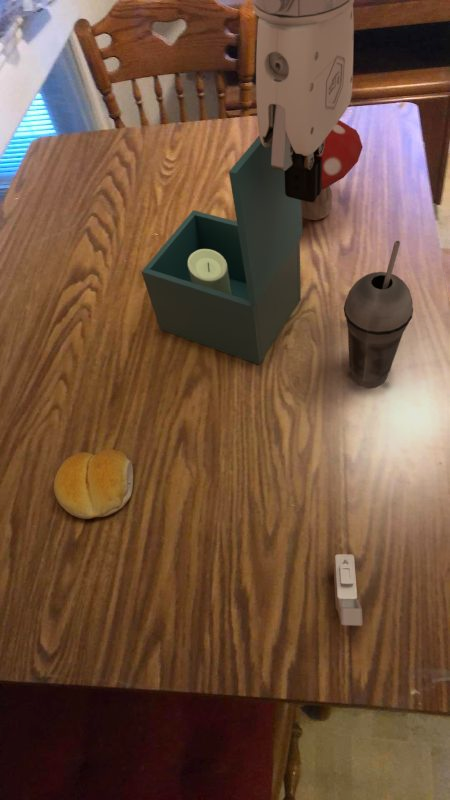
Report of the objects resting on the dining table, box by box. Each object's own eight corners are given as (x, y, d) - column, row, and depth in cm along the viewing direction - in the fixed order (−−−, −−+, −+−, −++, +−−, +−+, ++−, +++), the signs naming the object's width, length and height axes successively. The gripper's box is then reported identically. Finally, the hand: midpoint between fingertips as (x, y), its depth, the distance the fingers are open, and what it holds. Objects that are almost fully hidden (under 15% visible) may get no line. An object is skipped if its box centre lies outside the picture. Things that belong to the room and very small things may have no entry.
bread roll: (63, 460, 68) (51, 444, 65) (136, 453, 68) (127, 436, 64) (54, 525, 64) (40, 511, 60) (132, 518, 63) (122, 503, 60)
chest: (159, 329, 79) (140, 271, 70) (205, 270, 84) (192, 209, 75) (259, 365, 73) (252, 307, 64) (300, 299, 79) (299, 237, 70)
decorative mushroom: (300, 263, 83) (298, 172, 70) (235, 214, 91) (224, 124, 79) (380, 213, 87) (391, 118, 74) (311, 170, 95) (311, 78, 83)
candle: (240, 300, 79) (233, 254, 72) (218, 323, 77) (210, 278, 70) (211, 287, 81) (202, 242, 74) (190, 309, 79) (179, 265, 72)
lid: (228, 171, 50) (236, 173, 50) (289, 98, 56) (296, 99, 56) (249, 303, 64) (255, 305, 64) (296, 234, 69) (302, 235, 69)
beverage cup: (327, 366, 72) (333, 240, 55) (375, 341, 73) (395, 212, 56) (361, 406, 68) (378, 284, 51) (411, 380, 69) (443, 253, 52)
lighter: (333, 568, 57) (336, 540, 51) (350, 568, 57) (356, 540, 50) (337, 643, 53) (341, 623, 47) (356, 644, 53) (363, 623, 46)
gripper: (307, 33, 37) (306, 252, 52) (389, -57, 43) (366, 160, 58) (208, 20, 39) (234, 232, 54) (299, -63, 46) (300, 146, 61)
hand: (303, 194), depth 56 cm, fingers closed
